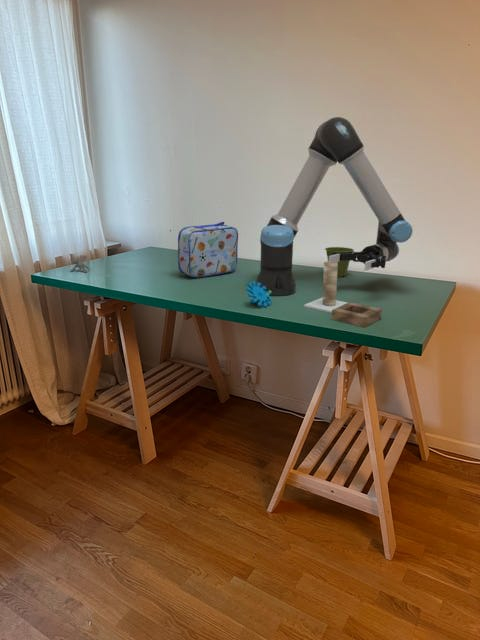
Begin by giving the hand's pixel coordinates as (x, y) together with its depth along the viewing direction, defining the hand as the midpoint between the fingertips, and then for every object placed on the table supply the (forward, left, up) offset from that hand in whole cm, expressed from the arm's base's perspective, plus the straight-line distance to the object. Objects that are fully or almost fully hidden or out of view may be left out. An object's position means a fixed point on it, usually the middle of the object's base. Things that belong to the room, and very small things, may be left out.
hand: (347, 263), depth 153 cm
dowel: (0, -10, -12) cm, 16 cm away
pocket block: (+13, -16, -13) cm, 24 cm away
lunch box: (-62, -3, -13) cm, 64 cm away
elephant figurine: (-108, -36, -13) cm, 115 cm away
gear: (-19, -24, -13) cm, 33 cm away
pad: (0, -10, -13) cm, 16 cm away
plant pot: (-20, +32, -13) cm, 40 cm away
